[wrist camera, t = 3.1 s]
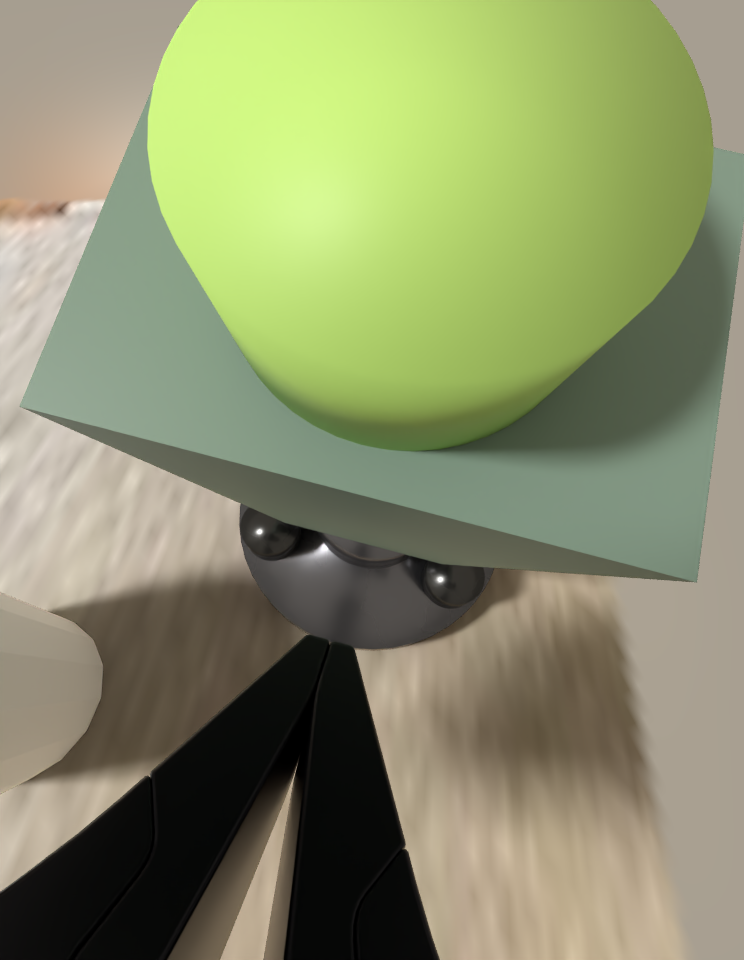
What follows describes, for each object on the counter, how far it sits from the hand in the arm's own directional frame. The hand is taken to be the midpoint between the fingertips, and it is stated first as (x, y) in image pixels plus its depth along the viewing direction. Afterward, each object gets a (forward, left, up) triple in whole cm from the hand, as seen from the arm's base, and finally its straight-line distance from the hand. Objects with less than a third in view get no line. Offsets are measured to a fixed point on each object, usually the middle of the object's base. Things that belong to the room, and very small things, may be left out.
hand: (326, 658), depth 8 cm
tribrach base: (+6, +1, -10) cm, 12 cm away
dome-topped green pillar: (+6, +1, -7) cm, 10 cm away
